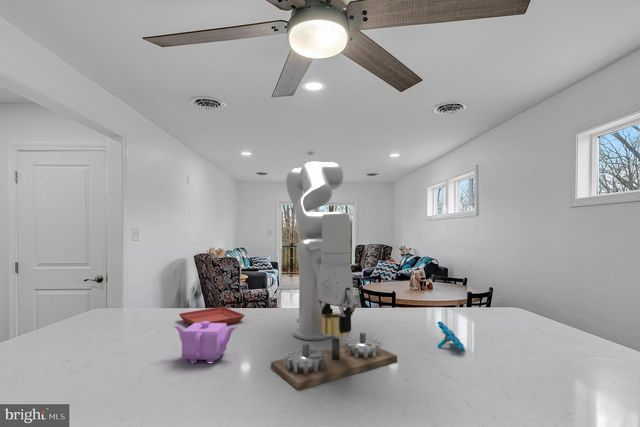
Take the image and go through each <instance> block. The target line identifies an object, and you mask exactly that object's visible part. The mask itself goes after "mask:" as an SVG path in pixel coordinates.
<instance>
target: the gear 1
mask: <svg viewBox="0 0 640 427" xmlns="http://www.w3.org/2000/svg"><path fill="white" fill-rule="evenodd" d="M318 351H319V352H318ZM285 359H286V367H287V370H289V371H291V370H293V371H294V373H299V372H302V373H304V374H308V373H309V372H313V373H317V372H318V370H323V369H324V366H325V354H323V352H322V351H321V350H317V349H315V348H312V349H310V345H309V344H307V343H306V344H302V349H294V351H289V352H288V353H287V354H286V355H285Z"/></svg>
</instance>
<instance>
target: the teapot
mask: <svg viewBox="0 0 640 427" xmlns="http://www.w3.org/2000/svg"><path fill="white" fill-rule="evenodd" d="M227 326H228V325H227V324H226V323H210V322H209V321H203V322H201V323H194V324H192V325H189V326H188V327H186V328H185V329H183V327H182V326H181V325H176V324H175V325H172V327H173V328H175V329H176V330H177V332H178V335H179V339H180V342H181V360H189V361H190V362H195V361H196V362H197V361H198V360H204V361H205V360H206V363H207V362H212V361H214V362H215V361H217V360H218V359H219V358H220V357H221V356H222V354H223V353H224V352H225V351H226V350H227V345H228V343H229V341H230V339H231V335H232V332H233V331H234V330H235V329H237V328H239V326H238V325H237V326H235V325H234V326H233V325H232V326H230V327H229V328H227ZM196 362H195V363H196Z"/></svg>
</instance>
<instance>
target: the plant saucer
mask: <svg viewBox="0 0 640 427" xmlns="http://www.w3.org/2000/svg"><path fill="white" fill-rule="evenodd" d="M178 315H179V317H180V318H181V319H182V320H183V321H184V322H185V323H186V322H187V324H188V323H189V325H190V324H191V325H192V324H194V323H201V322H203V321H209V322H210V323H226V324H227V326H228V324H229V325H233V323H234V324H238V323H240V322H241V321H242V320H243V319H244V318H245V316H246V315H245V314H244V313H240V312H238V311H236V310H232V309H231V308H227V307H225V306H219V307H213V308H206V309H199V310H193V311H186V312H181V313H179V314H178ZM191 325H190V326H191Z"/></svg>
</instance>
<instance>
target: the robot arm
mask: <svg viewBox="0 0 640 427" xmlns="http://www.w3.org/2000/svg"><path fill="white" fill-rule="evenodd" d="M343 181H344V172H343V169H342V167H341V166H340V165H339V164H338V163H336V162H329V161H328V162H325V161H322V162H321V161H310V162H306V163H305V164H303V165H302V166H301V167H298V168H297V167H296V168H293V169H291V170H289V171H288V172H287V174H286V180H285V182H286V191H287V194H288V197H289V199H290V202H291V203H292V205H293V207H294V211H295V212H294V213H295V214H294V216H295V221H296V222H295V223H296V228H297V232H298V234H299V236H300V238H301V240H300V241H298V242H297V244H296V258H297V266H298V285H299V286H298V287H299V288H298V318H297V319H296V323H297V324H298V328H296V329H295V330H294V332H293V333H294V336H295V337H296V338H298V339H301V340H305V341H321V340H327V339H329V338H331V337H332V336H329V335H328V334H323V332H322V315H323V314H327V313H334V311H333V308H332V306H333V307H338V309H339V313H341V316H340V318H339V331H340V333H345V332H350V333H351V331H352V316H353V314H354V312H355V309H356V307H357V305H358V301H357V299H356V298H355V296H354V283H353V275H352V274H353V273H352V267H351V217H350V214H349V213H348V212H345V211H333V212H332V211H328V212H325V211H323V212H322V211H321V212H320V210H319V208H320V207H322V206H325V205H326V204H327V203H328V202H330V201H331V199H332V196H333V191H334V190H336V189H338V188H340V187H341V185H342V184H343Z"/></svg>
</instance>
